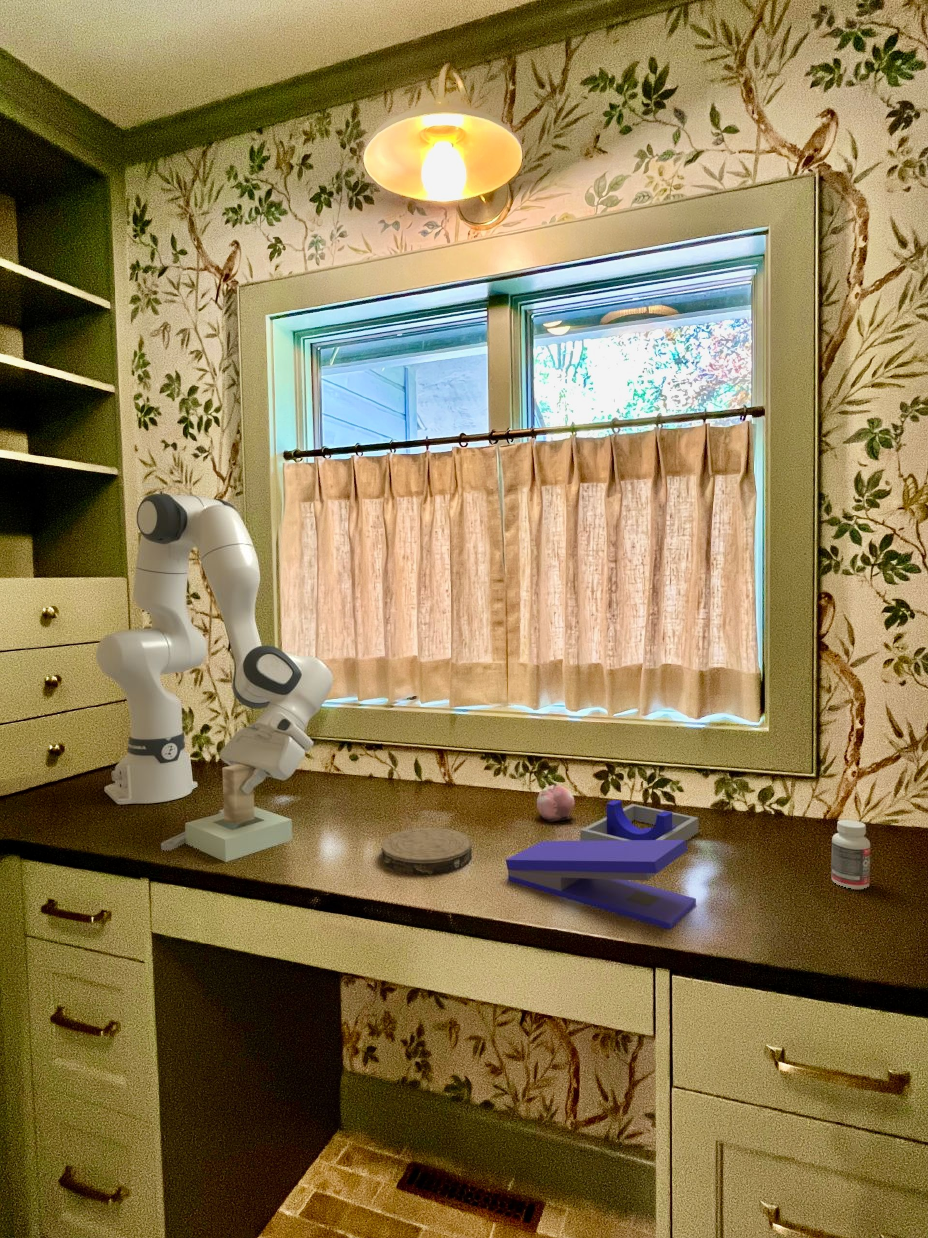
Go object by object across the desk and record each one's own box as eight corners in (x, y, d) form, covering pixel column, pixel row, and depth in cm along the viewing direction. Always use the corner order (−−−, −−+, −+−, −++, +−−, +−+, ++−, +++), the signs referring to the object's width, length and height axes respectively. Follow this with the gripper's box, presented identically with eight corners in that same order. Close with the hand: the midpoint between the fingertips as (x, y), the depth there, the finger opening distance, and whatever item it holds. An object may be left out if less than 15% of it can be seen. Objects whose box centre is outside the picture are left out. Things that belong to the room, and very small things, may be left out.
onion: (532, 824, 147) (526, 789, 149) (557, 819, 152) (551, 785, 154) (560, 821, 142) (554, 784, 143) (586, 816, 147) (579, 780, 149)
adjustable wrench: (169, 854, 132) (168, 845, 132) (143, 850, 135) (143, 840, 134) (259, 813, 155) (259, 805, 155) (236, 810, 157) (236, 802, 157)
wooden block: (224, 820, 136) (222, 767, 135) (242, 814, 139) (241, 763, 138) (235, 824, 133) (233, 770, 133) (254, 818, 136) (252, 766, 136)
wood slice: (363, 861, 127) (363, 845, 127) (426, 837, 139) (425, 822, 139) (428, 886, 116) (428, 867, 116) (490, 857, 128) (490, 840, 128)
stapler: (668, 934, 100) (668, 864, 99) (502, 883, 117) (502, 824, 117) (698, 904, 109) (698, 840, 108) (540, 861, 126) (540, 806, 126)
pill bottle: (872, 893, 111) (873, 830, 111) (833, 888, 113) (834, 826, 113) (866, 879, 116) (867, 819, 116) (829, 874, 118) (830, 816, 118)
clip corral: (580, 845, 133) (580, 829, 132) (632, 818, 148) (632, 803, 147) (650, 864, 123) (650, 847, 123) (698, 833, 138) (698, 817, 138)
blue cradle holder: (675, 842, 133) (676, 810, 133) (664, 849, 130) (664, 816, 129) (618, 828, 141) (618, 798, 141) (606, 834, 138) (606, 803, 138)
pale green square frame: (185, 844, 136) (185, 823, 136) (250, 824, 146) (250, 805, 146) (225, 862, 127) (225, 839, 126) (292, 840, 137) (291, 819, 137)
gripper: (238, 714, 147) (195, 771, 140) (299, 725, 134) (254, 789, 127) (258, 732, 151) (217, 789, 144) (319, 745, 138) (277, 808, 131)
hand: (235, 789), depth 135 cm, fingers closed on wooden block, 4 cm apart
